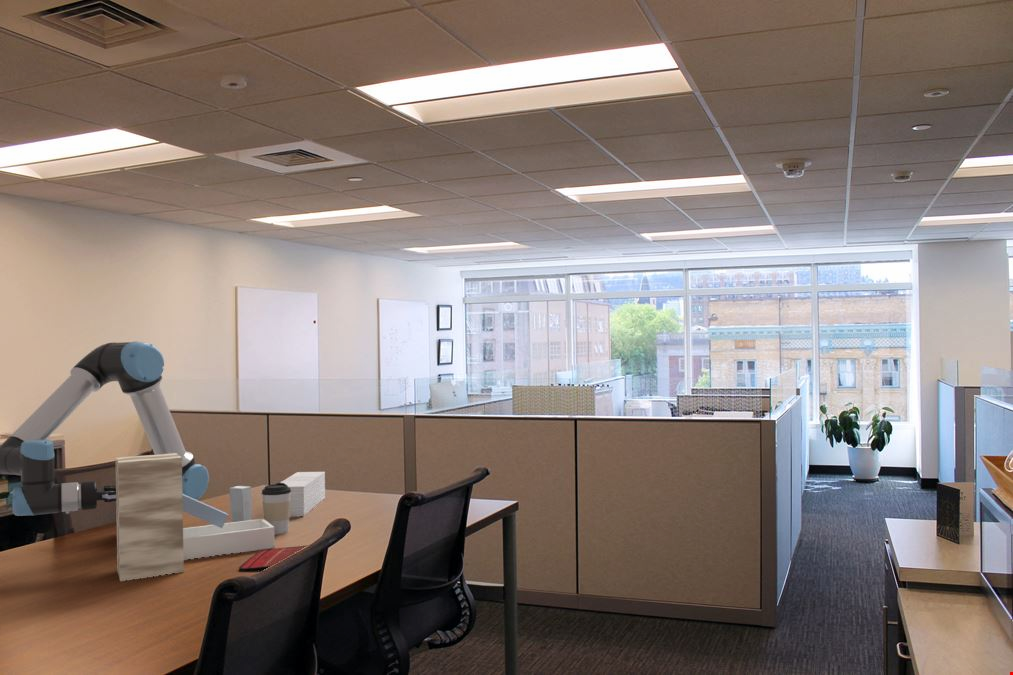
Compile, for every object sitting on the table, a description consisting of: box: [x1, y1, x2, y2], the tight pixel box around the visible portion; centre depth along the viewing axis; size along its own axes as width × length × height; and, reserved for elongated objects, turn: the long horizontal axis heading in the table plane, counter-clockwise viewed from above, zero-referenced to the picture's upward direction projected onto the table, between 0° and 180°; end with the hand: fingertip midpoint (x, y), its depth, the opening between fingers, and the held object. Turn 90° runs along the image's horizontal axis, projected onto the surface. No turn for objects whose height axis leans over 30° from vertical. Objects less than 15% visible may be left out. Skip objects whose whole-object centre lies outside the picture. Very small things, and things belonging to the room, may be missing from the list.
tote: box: [183, 518, 276, 561], centre depth 232 cm, size 14×33×6 cm, turn 119°
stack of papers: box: [279, 471, 326, 516], centre depth 292 cm, size 32×11×11 cm, turn 0°
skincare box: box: [229, 485, 254, 523], centre depth 268 cm, size 6×4×12 cm
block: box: [182, 494, 230, 528], centre depth 228 cm, size 4×26×4 cm, turn 119°
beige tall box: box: [115, 453, 185, 582], centre depth 211 cm, size 11×15×30 cm
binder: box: [238, 544, 309, 572], centre depth 220 cm, size 16×2×21 cm
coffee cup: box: [261, 482, 291, 535], centre depth 254 cm, size 9×9×15 cm
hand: (173, 487), depth 227 cm, fingers closed on block, 4 cm apart
